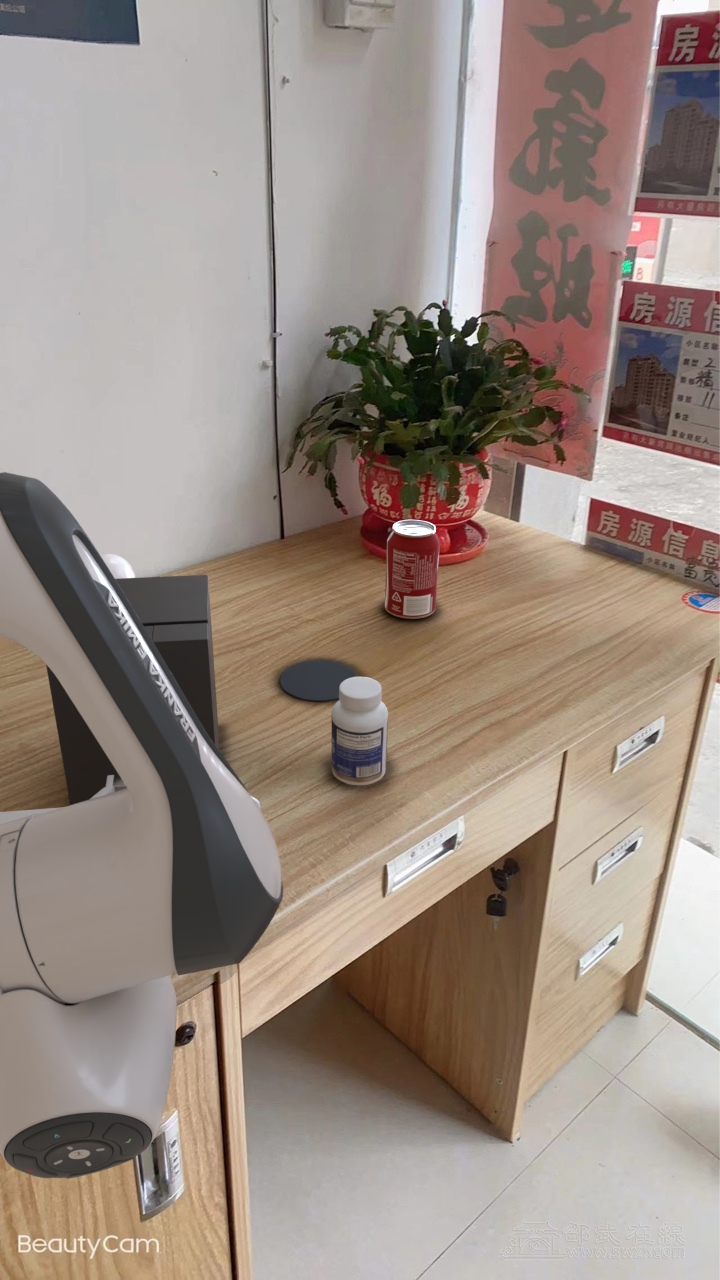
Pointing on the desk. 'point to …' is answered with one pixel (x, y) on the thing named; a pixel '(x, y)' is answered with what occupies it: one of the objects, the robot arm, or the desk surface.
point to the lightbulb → (118, 566)
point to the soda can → (412, 569)
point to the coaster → (315, 680)
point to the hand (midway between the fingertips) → (128, 780)
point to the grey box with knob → (185, 645)
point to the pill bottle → (359, 732)
